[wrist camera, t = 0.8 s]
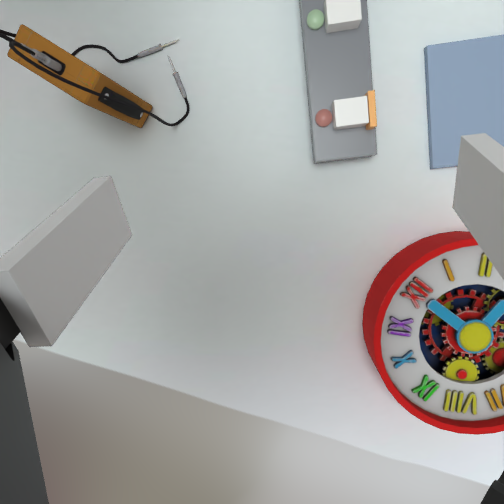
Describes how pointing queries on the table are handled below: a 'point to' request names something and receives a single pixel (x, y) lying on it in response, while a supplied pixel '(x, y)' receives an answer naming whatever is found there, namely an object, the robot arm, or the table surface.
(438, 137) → the pad
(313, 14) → the breaker panel
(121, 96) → the multimeter
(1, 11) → the table surface
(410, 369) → the toy clock
